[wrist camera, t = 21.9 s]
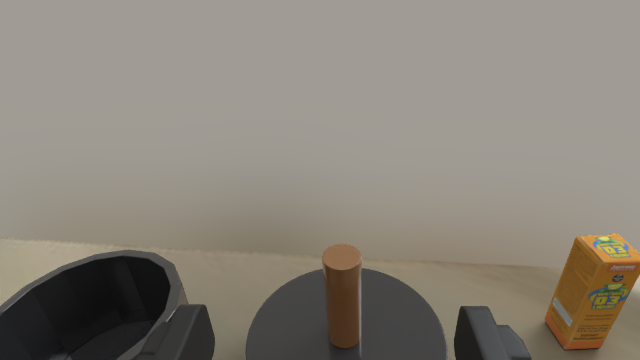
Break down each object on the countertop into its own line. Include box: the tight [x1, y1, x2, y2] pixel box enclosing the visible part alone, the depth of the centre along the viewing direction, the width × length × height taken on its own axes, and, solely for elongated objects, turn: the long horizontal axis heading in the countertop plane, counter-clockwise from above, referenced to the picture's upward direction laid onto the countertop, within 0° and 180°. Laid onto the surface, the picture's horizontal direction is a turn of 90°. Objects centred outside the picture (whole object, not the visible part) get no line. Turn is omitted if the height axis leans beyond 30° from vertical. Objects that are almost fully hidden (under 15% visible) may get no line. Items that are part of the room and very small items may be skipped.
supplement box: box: [545, 234, 640, 349], centre depth 30 cm, size 3×3×10 cm
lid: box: [246, 244, 448, 360], centre depth 27 cm, size 15×15×9 cm
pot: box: [0, 250, 188, 360], centre depth 29 cm, size 14×14×8 cm
